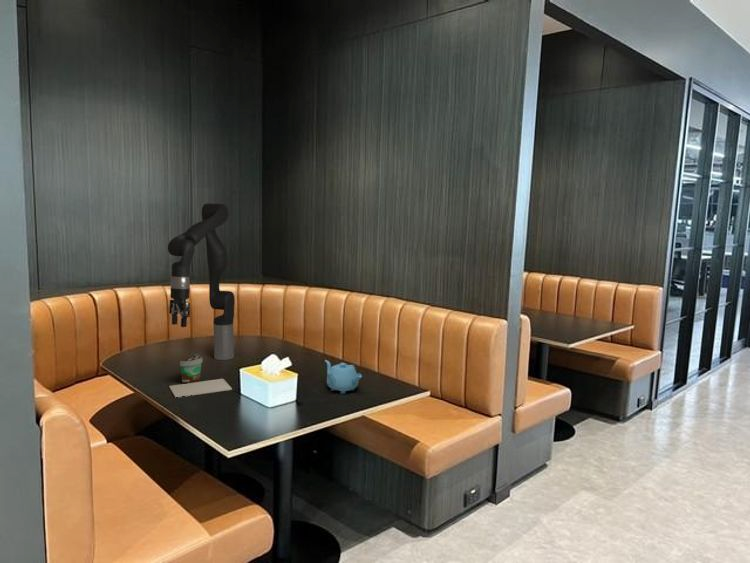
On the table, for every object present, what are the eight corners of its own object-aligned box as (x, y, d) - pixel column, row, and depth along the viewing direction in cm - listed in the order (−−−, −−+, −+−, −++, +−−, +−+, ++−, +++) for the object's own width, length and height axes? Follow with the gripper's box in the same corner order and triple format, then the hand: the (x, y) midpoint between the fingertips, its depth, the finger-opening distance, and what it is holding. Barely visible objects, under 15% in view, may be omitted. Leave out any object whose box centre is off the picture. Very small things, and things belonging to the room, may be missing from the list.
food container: (193, 385, 226) (193, 362, 225) (180, 384, 228) (179, 361, 226) (208, 376, 238) (208, 354, 237) (195, 375, 240) (195, 353, 238)
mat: (169, 387, 224) (169, 385, 224) (223, 379, 235) (223, 378, 235) (175, 397, 212) (175, 396, 212) (231, 389, 223) (231, 388, 223)
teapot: (323, 395, 219) (323, 368, 217) (324, 384, 232) (324, 358, 231) (361, 395, 220) (361, 368, 218) (360, 384, 233) (360, 358, 232)
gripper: (196, 288, 226) (195, 327, 226) (181, 285, 236) (180, 323, 237) (179, 288, 220) (178, 328, 221) (164, 286, 230) (163, 324, 231)
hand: (179, 325), depth 229 cm, fingers open, 8 cm apart
